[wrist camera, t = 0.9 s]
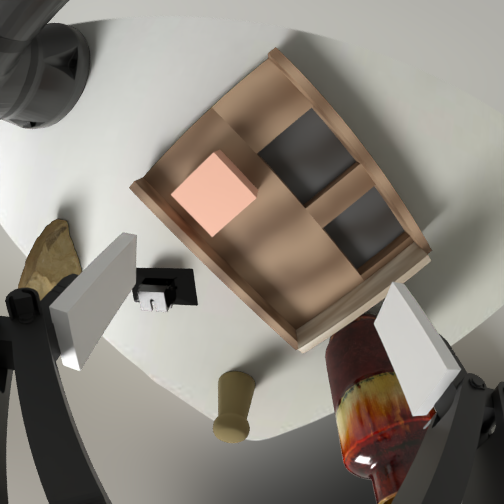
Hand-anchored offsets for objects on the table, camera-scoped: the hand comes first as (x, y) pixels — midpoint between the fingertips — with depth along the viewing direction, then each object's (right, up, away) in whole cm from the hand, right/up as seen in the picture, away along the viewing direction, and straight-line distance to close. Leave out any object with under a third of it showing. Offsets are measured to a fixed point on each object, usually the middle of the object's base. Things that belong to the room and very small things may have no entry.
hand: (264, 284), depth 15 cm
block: (-4, +8, +18) cm, 21 cm away
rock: (-28, +1, +25) cm, 37 cm away
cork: (-3, -20, +33) cm, 38 cm away
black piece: (-13, -3, +27) cm, 30 cm away
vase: (+15, -11, +28) cm, 34 cm away
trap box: (+4, +7, +21) cm, 22 cm away
